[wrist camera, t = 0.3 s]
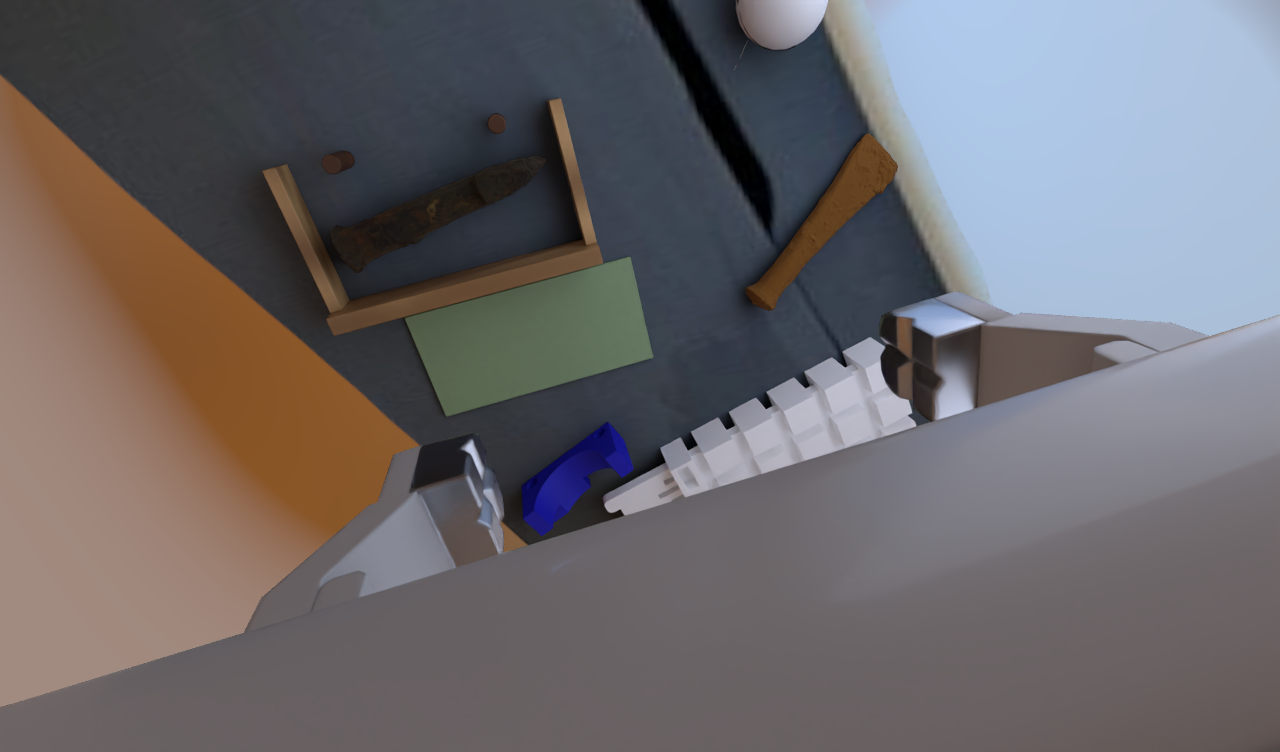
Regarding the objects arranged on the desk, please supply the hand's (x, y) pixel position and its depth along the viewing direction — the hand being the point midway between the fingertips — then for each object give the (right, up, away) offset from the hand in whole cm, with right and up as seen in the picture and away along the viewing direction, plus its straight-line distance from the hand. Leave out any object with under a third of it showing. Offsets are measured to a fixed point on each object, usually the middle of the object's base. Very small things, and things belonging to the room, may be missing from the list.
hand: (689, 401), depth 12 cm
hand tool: (-18, +16, +41) cm, 48 cm away
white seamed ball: (+9, +32, +40) cm, 52 cm away
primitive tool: (+16, +16, +49) cm, 54 cm away
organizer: (+12, -8, +59) cm, 61 cm away
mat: (-11, +4, +48) cm, 50 cm away
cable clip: (-8, -10, +55) cm, 57 cm away
